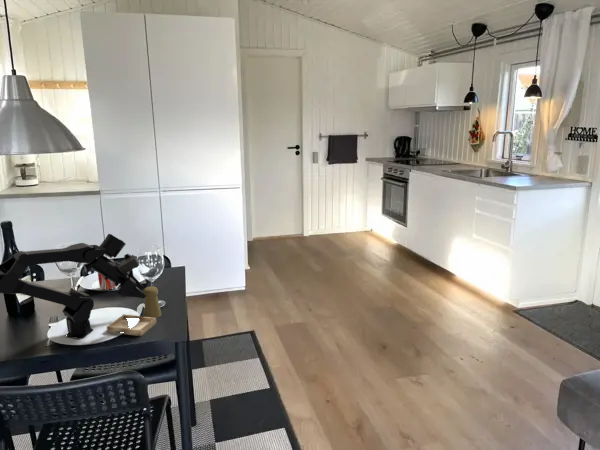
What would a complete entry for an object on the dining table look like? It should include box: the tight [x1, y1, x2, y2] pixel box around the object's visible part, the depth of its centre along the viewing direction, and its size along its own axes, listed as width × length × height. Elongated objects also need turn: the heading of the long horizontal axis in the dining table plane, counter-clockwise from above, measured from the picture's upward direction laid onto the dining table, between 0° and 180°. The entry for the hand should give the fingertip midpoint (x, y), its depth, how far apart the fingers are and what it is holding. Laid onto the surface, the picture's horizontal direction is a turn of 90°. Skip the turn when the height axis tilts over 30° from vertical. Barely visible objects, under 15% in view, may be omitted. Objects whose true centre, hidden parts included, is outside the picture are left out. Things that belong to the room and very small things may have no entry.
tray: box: [106, 314, 157, 337], centre depth 157 cm, size 13×10×2 cm
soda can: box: [97, 258, 118, 291], centre depth 189 cm, size 7×7×12 cm
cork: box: [142, 285, 162, 319], centre depth 165 cm, size 6×6×11 cm
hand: (143, 292), depth 163 cm, fingers open, 9 cm apart
